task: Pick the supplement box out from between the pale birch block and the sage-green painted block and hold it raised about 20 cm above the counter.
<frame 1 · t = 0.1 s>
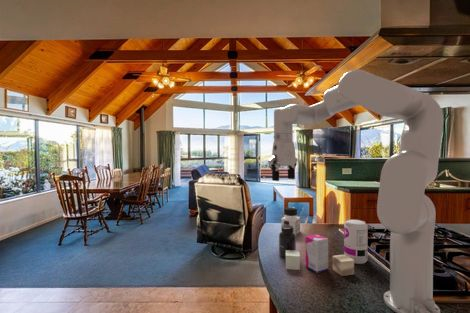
hand: (283, 179, 102), 31 cm above the countertop, fingers open, 9 cm apart
container: (290, 232, 130), on the countertop
supplement can: (355, 260, 97), on the countertop
supplement box: (316, 268, 90), on the countertop
birch block: (343, 271, 88), on the countertop
supplement bottle: (287, 255, 102), on the countertop
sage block: (292, 266, 92), on the countertop
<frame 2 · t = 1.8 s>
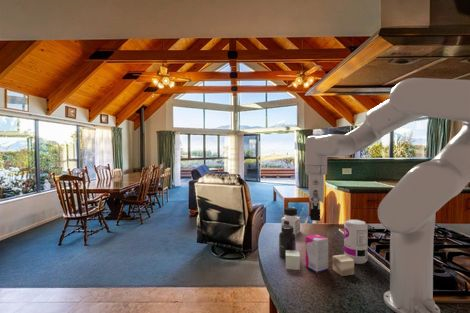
hand: (315, 216, 90), 19 cm above the countertop, fingers open, 9 cm apart
nothing on the countertop moved.
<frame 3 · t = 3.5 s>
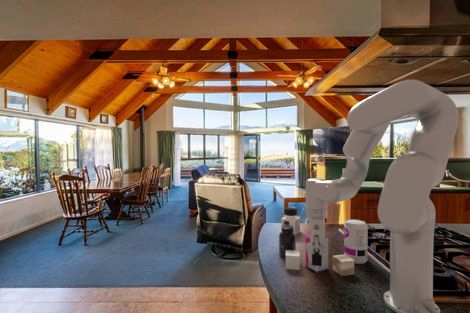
hand: (316, 259, 90), 3 cm above the countertop, fingers closed on supplement box, 8 cm apart
supplement box: (316, 268, 90), on the countertop, touching gripper
everything else where it was.
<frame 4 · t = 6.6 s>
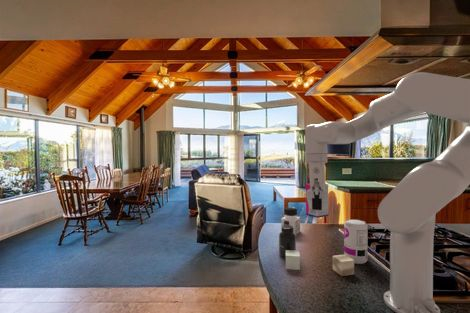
hand: (316, 206, 90), 23 cm above the countertop, fingers closed on supplement box, 8 cm apart
supplement box: (317, 215, 90), point 19 cm above the countertop, touching gripper
everything else where it was.
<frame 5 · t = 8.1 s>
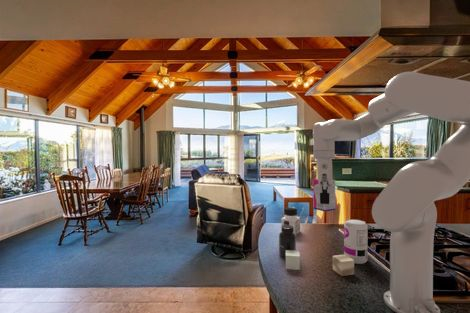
hand: (324, 201, 94), 24 cm above the countertop, fingers closed on supplement box, 8 cm apart
supplement box: (324, 209, 94), point 20 cm above the countertop, touching gripper
everything else where it was.
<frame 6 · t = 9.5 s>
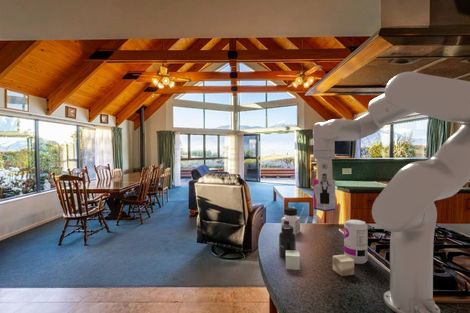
hand: (324, 201, 94), 24 cm above the countertop, fingers closed on supplement box, 8 cm apart
supplement box: (324, 209, 94), point 20 cm above the countertop, touching gripper
everything else where it was.
at the end: the gripper is holding supplement box; supplement box point 20.5 cm above the countertop; birch block moved 0.1 cm from its start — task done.
